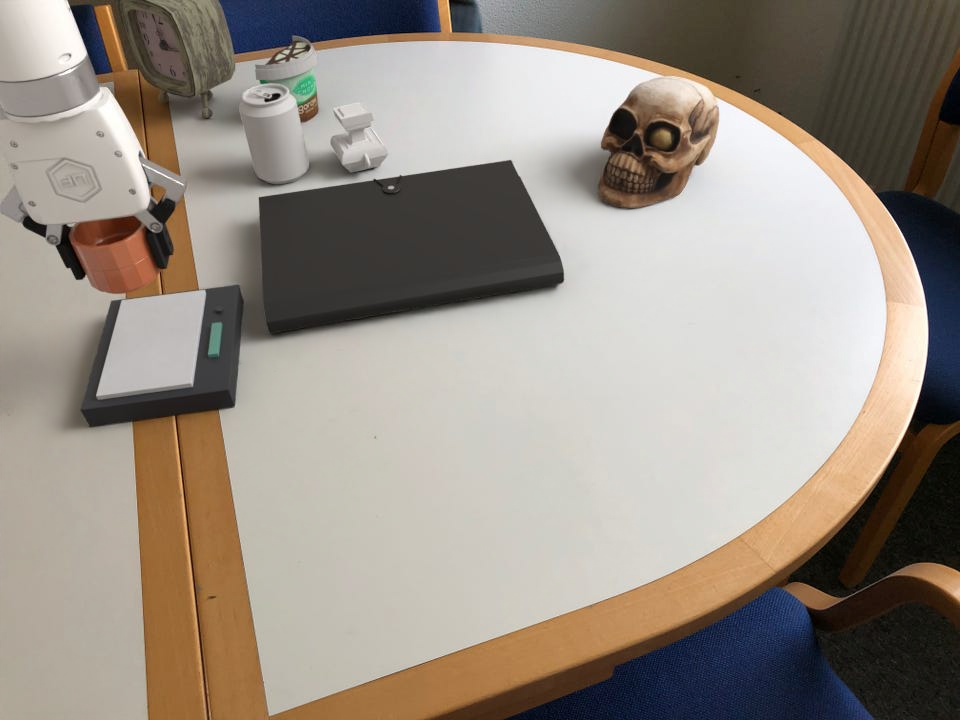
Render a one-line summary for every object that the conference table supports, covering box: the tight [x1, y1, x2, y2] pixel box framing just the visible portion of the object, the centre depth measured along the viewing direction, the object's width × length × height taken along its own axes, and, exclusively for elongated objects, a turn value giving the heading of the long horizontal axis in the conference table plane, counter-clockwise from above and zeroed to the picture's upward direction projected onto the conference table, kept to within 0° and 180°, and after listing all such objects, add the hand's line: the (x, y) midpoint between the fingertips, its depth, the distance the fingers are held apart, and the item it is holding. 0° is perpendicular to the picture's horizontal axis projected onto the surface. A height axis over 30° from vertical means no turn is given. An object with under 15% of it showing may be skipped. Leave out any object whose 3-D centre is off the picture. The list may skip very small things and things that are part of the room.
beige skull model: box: [597, 75, 720, 209], centre depth 105 cm, size 16×17×13 cm
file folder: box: [258, 159, 565, 334], centre depth 95 cm, size 33×4×24 cm
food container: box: [254, 35, 320, 124], centre depth 122 cm, size 12×6×10 cm, turn 161°
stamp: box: [330, 101, 389, 174], centre depth 110 cm, size 9×7×8 cm
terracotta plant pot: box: [68, 216, 163, 295], centre depth 74 cm, size 7×7×6 cm
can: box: [238, 83, 310, 185], centre depth 108 cm, size 8×8×12 cm
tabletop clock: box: [117, 0, 236, 119], centre depth 121 cm, size 14×9×25 cm, turn 55°
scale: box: [79, 284, 245, 428], centre depth 83 cm, size 14×17×3 cm
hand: (124, 264), depth 75 cm, fingers closed on terracotta plant pot, 6 cm apart
